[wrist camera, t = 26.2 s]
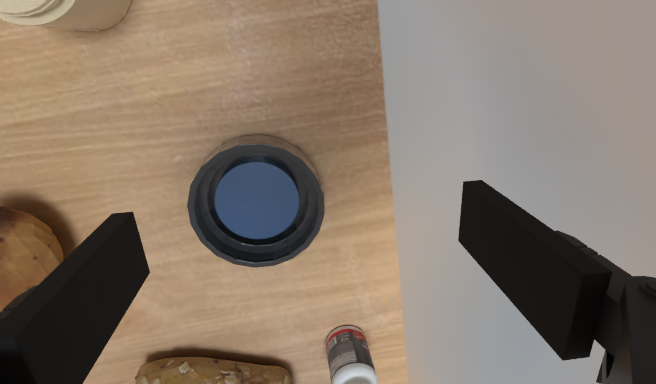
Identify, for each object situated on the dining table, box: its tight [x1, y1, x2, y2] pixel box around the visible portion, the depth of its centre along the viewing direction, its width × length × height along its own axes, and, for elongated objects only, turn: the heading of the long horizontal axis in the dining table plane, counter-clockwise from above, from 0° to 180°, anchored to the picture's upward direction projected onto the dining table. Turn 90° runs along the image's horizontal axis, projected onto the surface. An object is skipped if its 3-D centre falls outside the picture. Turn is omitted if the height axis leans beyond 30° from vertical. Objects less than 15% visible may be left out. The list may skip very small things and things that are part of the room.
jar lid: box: [214, 157, 299, 239], centre depth 39 cm, size 9×9×2 cm
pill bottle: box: [326, 326, 377, 384], centre depth 45 cm, size 5×5×10 cm
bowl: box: [187, 135, 324, 267], centre depth 39 cm, size 13×13×4 cm
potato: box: [0, 207, 63, 312], centre depth 36 cm, size 8×13×8 cm
